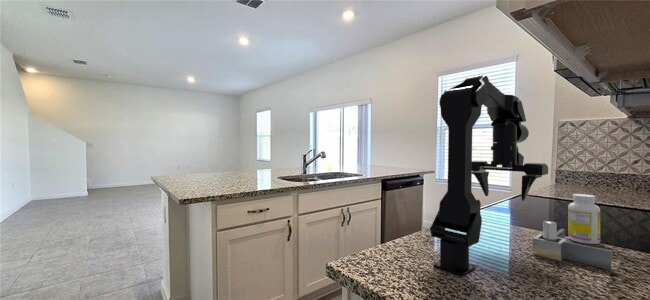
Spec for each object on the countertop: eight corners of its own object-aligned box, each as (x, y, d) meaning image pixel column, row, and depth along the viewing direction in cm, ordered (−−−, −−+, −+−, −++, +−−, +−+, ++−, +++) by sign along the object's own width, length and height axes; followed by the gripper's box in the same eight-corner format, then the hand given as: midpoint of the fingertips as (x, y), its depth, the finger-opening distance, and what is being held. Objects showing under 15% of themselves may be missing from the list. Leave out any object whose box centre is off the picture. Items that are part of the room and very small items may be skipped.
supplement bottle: (586, 237, 82) (587, 193, 82) (607, 245, 75) (607, 197, 75) (562, 236, 83) (562, 193, 83) (580, 244, 76) (580, 197, 76)
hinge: (609, 273, 59) (609, 254, 59) (532, 254, 70) (532, 238, 69) (619, 255, 69) (619, 238, 68) (550, 241, 79) (550, 226, 79)
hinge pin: (554, 257, 67) (555, 224, 67) (541, 254, 69) (541, 222, 69) (557, 255, 69) (557, 222, 69) (544, 252, 71) (544, 220, 71)
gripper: (554, 142, 77) (554, 199, 77) (481, 143, 92) (481, 191, 92) (541, 142, 70) (541, 205, 70) (465, 143, 85) (465, 195, 85)
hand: (504, 198), depth 79 cm, fingers open, 9 cm apart
